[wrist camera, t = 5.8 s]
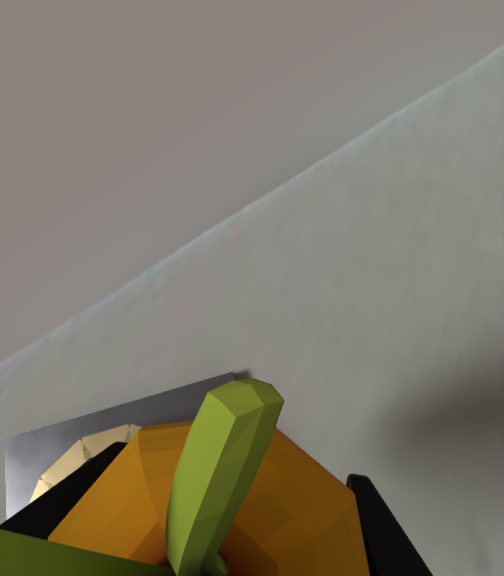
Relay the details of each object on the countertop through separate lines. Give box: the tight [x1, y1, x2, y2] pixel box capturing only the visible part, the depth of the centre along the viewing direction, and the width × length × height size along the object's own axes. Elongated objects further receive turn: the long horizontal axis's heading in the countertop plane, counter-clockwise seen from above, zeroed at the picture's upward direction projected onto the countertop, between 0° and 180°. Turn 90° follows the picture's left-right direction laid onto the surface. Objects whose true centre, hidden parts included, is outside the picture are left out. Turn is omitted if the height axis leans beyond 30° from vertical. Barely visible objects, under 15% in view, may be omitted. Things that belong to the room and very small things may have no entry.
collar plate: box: [4, 372, 236, 519], centre depth 19 cm, size 12×13×3 cm
